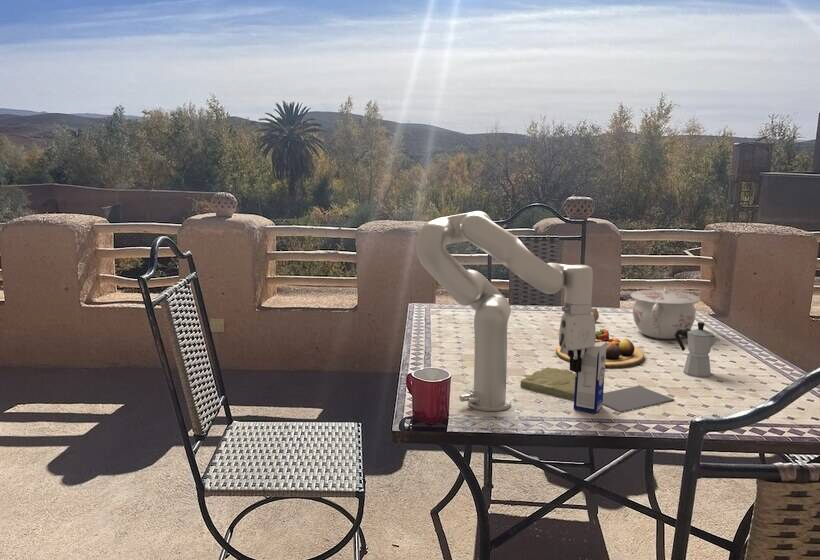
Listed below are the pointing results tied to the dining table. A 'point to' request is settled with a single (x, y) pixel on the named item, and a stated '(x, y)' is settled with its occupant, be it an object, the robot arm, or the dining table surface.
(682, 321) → the chamber pot
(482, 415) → the dining table surface
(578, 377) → the milk carton
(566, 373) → the decorative tile
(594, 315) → the oil lamp
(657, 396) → the mat
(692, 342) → the coffee maker
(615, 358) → the wooden plate with food
